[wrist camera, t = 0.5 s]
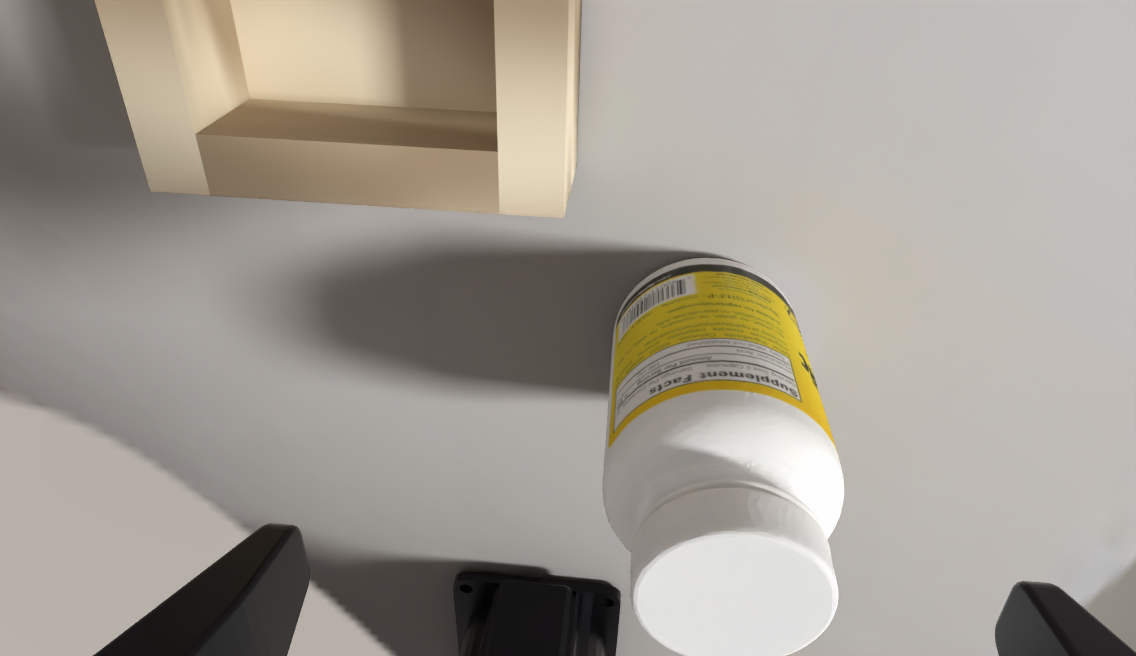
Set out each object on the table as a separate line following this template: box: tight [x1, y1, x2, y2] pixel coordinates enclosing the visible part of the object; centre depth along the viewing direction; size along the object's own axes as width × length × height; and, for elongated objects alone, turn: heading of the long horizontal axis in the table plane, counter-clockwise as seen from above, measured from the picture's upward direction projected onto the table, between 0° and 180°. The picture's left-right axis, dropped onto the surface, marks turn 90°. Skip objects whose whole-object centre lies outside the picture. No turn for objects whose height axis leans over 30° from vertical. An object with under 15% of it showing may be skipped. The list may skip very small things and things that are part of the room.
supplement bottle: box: [603, 258, 844, 656], centre depth 19 cm, size 5×5×10 cm
